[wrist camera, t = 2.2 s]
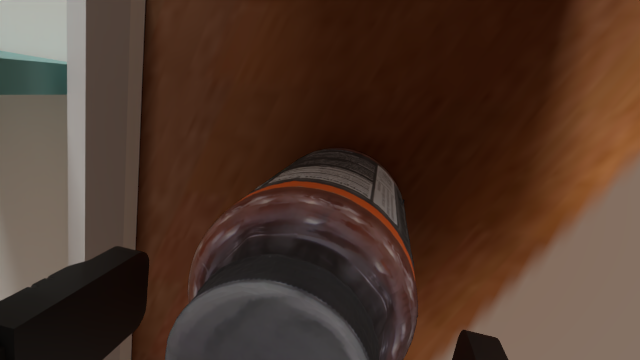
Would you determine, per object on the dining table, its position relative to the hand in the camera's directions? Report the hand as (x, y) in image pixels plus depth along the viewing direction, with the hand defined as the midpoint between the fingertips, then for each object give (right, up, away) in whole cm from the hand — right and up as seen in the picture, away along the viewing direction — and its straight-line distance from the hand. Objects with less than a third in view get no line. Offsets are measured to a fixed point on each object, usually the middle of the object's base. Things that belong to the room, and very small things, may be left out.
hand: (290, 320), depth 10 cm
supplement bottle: (+2, +2, +8) cm, 9 cm away
